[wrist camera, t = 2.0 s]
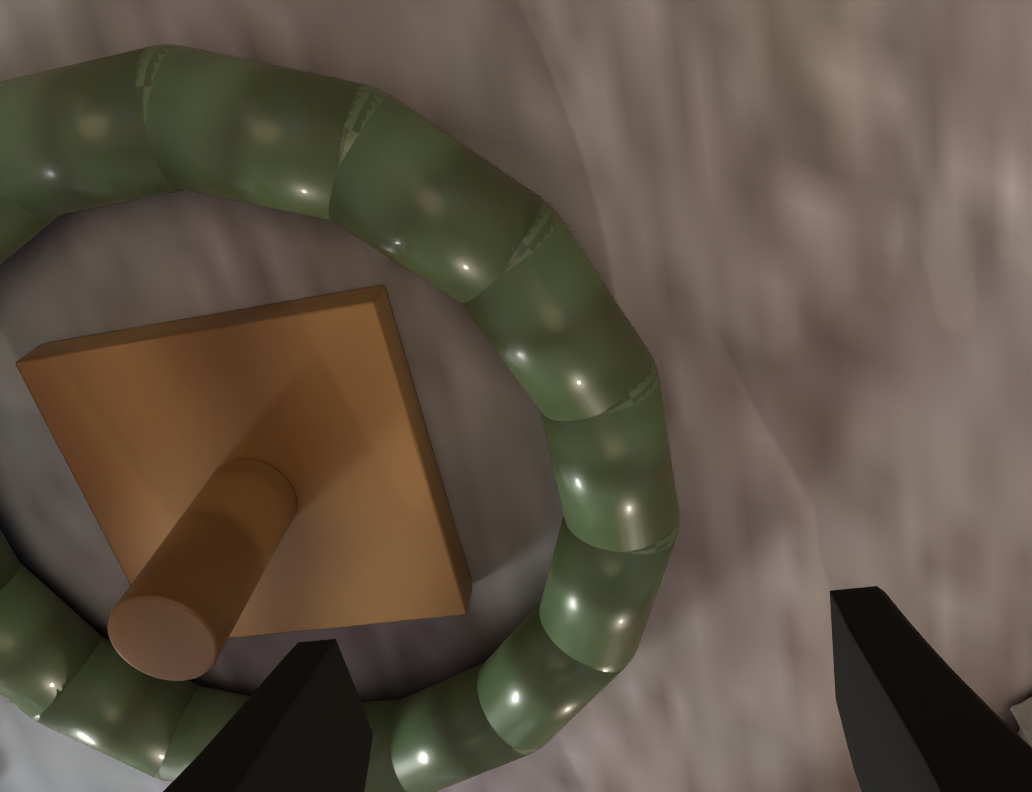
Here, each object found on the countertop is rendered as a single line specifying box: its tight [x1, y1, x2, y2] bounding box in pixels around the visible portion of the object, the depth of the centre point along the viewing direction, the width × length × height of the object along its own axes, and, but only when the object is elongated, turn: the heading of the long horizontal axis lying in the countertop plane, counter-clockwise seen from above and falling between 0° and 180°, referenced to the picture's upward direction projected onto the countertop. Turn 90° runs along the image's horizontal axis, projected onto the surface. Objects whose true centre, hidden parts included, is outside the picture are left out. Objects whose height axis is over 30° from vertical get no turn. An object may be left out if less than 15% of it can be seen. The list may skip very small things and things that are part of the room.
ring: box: [0, 45, 679, 792], centre depth 19 cm, size 18×18×2 cm
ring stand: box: [16, 285, 472, 681], centre depth 17 cm, size 8×8×6 cm
